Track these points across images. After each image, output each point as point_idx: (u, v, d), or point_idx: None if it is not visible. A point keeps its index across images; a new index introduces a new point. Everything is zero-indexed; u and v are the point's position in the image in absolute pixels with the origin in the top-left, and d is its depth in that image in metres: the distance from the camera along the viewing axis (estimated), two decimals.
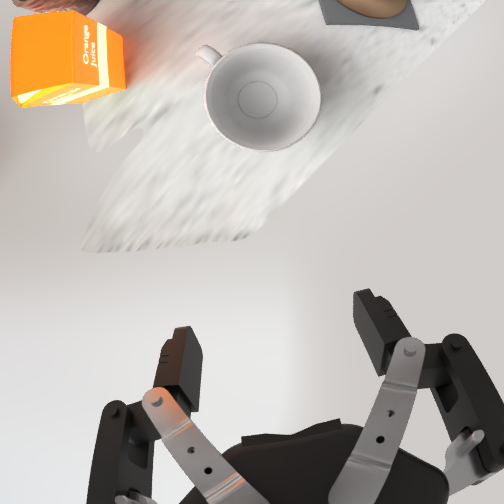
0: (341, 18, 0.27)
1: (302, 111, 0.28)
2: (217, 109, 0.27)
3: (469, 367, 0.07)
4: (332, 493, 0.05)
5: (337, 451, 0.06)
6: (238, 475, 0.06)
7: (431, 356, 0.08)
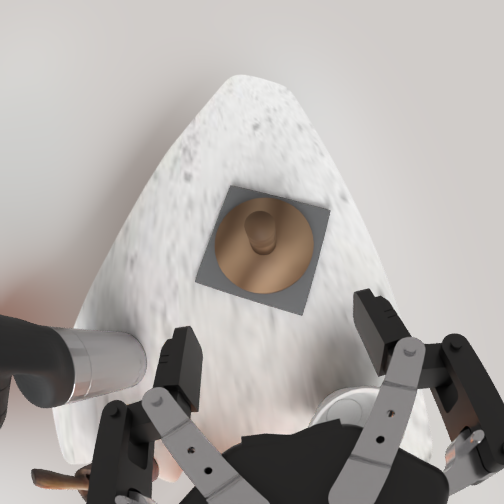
0: (301, 298, 0.38)
1: None
2: None
3: (469, 367, 0.07)
4: (332, 493, 0.05)
5: (337, 451, 0.06)
6: (238, 475, 0.06)
7: (431, 356, 0.08)
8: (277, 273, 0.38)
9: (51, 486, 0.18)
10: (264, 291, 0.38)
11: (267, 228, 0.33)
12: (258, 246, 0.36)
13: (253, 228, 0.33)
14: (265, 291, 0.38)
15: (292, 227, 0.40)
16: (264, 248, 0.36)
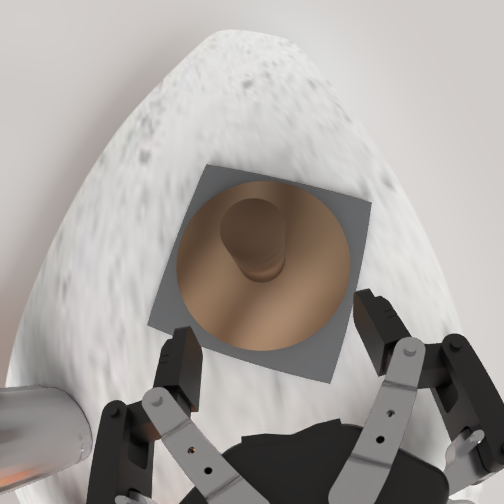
0: (329, 355, 0.21)
1: None
2: None
3: (469, 367, 0.07)
4: (332, 493, 0.05)
5: (337, 451, 0.06)
6: (238, 475, 0.06)
7: (431, 356, 0.08)
8: (288, 316, 0.21)
9: None
10: (264, 348, 0.20)
11: (269, 235, 0.15)
12: (251, 271, 0.18)
13: (239, 235, 0.15)
14: (266, 348, 0.20)
15: (312, 230, 0.22)
16: (262, 273, 0.19)
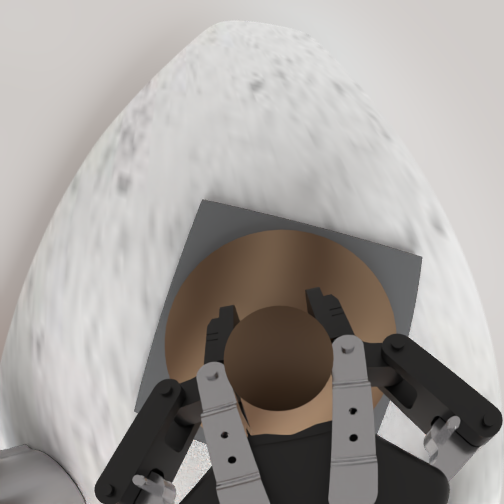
0: None
1: None
2: None
3: (419, 362, 0.08)
4: (332, 493, 0.05)
5: None
6: (257, 474, 0.06)
7: (372, 355, 0.09)
8: (315, 418, 0.14)
9: None
10: None
11: (307, 372, 0.08)
12: None
13: (256, 373, 0.09)
14: None
15: (350, 304, 0.16)
16: None
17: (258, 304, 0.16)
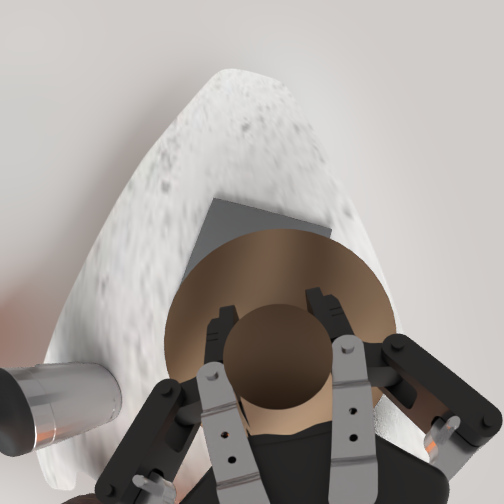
0: None
1: None
2: None
3: (419, 362, 0.08)
4: (332, 493, 0.05)
5: None
6: (258, 474, 0.06)
7: (372, 355, 0.09)
8: (314, 417, 0.14)
9: None
10: None
11: (306, 371, 0.08)
12: None
13: (256, 371, 0.09)
14: None
15: (350, 303, 0.16)
16: None
17: (258, 303, 0.16)
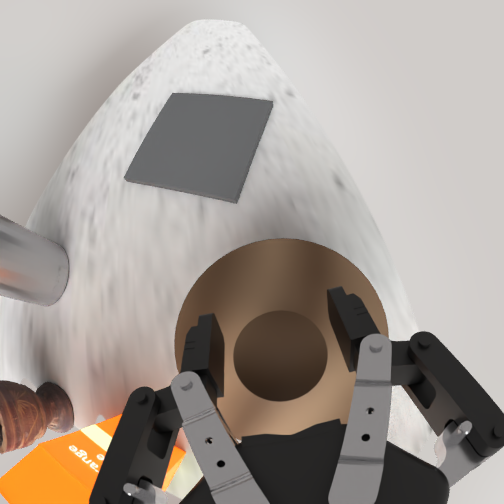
0: (235, 181, 0.32)
1: None
2: None
3: (442, 362, 0.08)
4: (332, 493, 0.05)
5: (337, 451, 0.06)
6: (249, 473, 0.06)
7: (399, 353, 0.09)
8: (313, 412, 0.15)
9: None
10: None
11: (304, 368, 0.10)
12: None
13: (261, 368, 0.10)
14: None
15: None
16: None
17: (261, 307, 0.18)
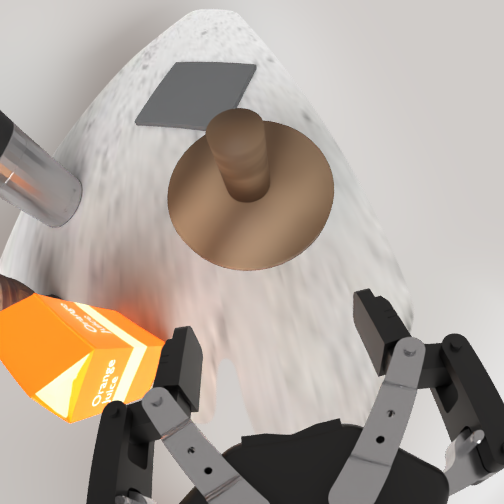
0: None
1: None
2: None
3: (469, 367, 0.07)
4: (332, 493, 0.05)
5: (337, 451, 0.06)
6: (238, 475, 0.06)
7: (431, 356, 0.08)
8: (274, 233, 0.21)
9: None
10: (250, 264, 0.21)
11: (249, 132, 0.16)
12: (235, 177, 0.19)
13: (222, 134, 0.16)
14: (252, 264, 0.21)
15: (296, 158, 0.23)
16: (246, 183, 0.19)
17: None
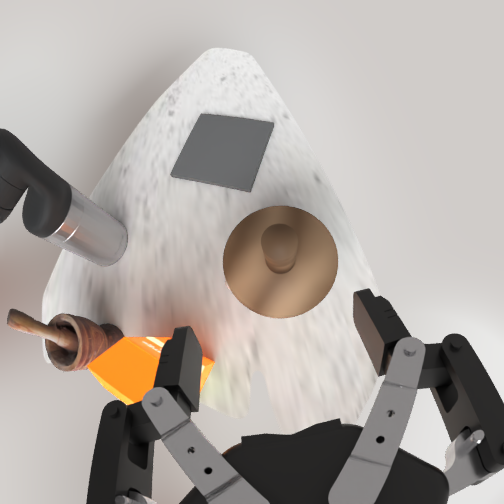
0: (249, 178, 0.49)
1: None
2: None
3: (469, 367, 0.07)
4: (332, 493, 0.05)
5: (337, 451, 0.06)
6: (238, 475, 0.06)
7: (431, 356, 0.08)
8: (298, 295, 0.33)
9: (21, 324, 0.28)
10: (283, 316, 0.32)
11: (289, 245, 0.27)
12: (277, 266, 0.30)
13: (272, 245, 0.27)
14: (284, 316, 0.32)
15: (313, 240, 0.34)
16: (283, 267, 0.31)
17: None
